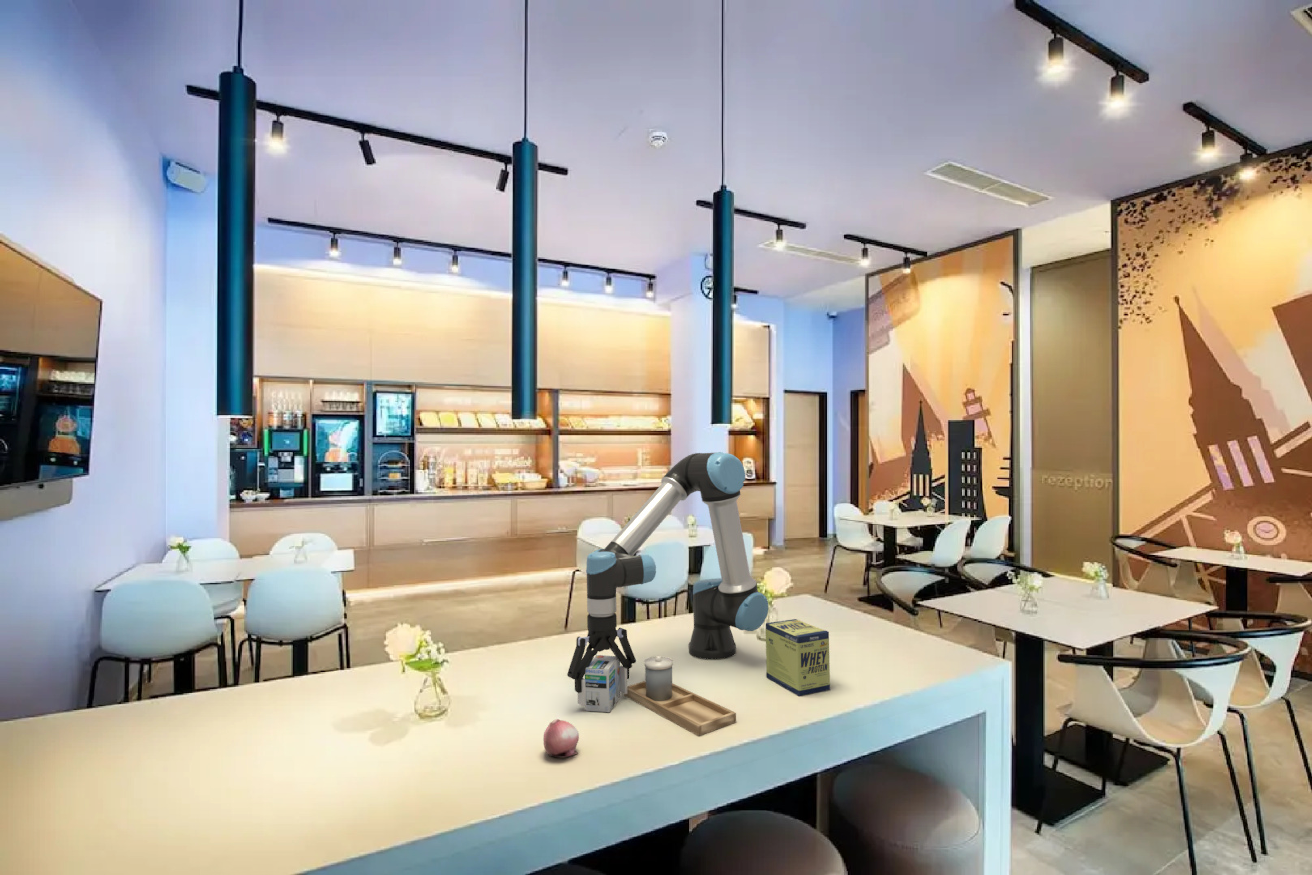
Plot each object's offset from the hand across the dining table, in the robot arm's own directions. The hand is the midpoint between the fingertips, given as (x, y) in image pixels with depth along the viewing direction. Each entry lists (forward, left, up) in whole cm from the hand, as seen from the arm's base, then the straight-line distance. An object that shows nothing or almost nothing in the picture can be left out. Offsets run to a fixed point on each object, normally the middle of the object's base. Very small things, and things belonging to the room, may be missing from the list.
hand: (603, 698), depth 159 cm
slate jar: (-13, +7, -1) cm, 15 cm away
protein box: (-49, +22, -2) cm, 54 cm away
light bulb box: (0, 0, -2) cm, 2 cm away
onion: (+21, +17, -2) cm, 27 cm away
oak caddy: (-13, +14, -1) cm, 19 cm away
